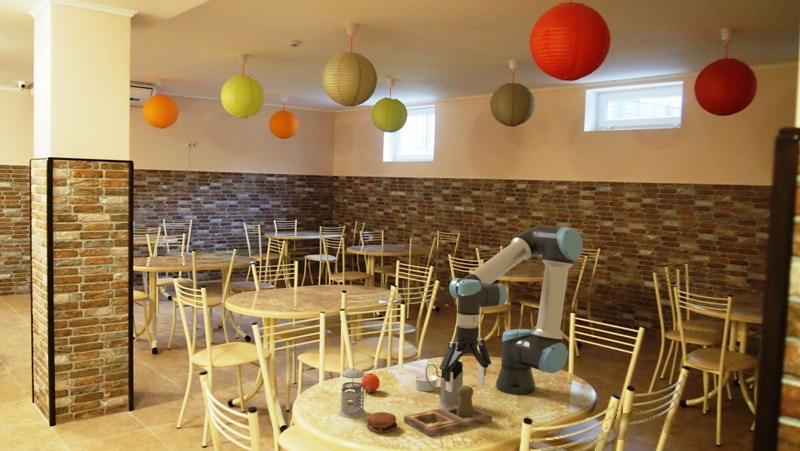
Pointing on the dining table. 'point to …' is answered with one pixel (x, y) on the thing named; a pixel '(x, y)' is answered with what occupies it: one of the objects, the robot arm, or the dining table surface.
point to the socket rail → (445, 420)
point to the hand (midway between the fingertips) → (464, 388)
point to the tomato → (373, 382)
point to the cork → (465, 402)
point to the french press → (352, 393)
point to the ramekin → (425, 382)
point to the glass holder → (452, 397)
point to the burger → (381, 422)
